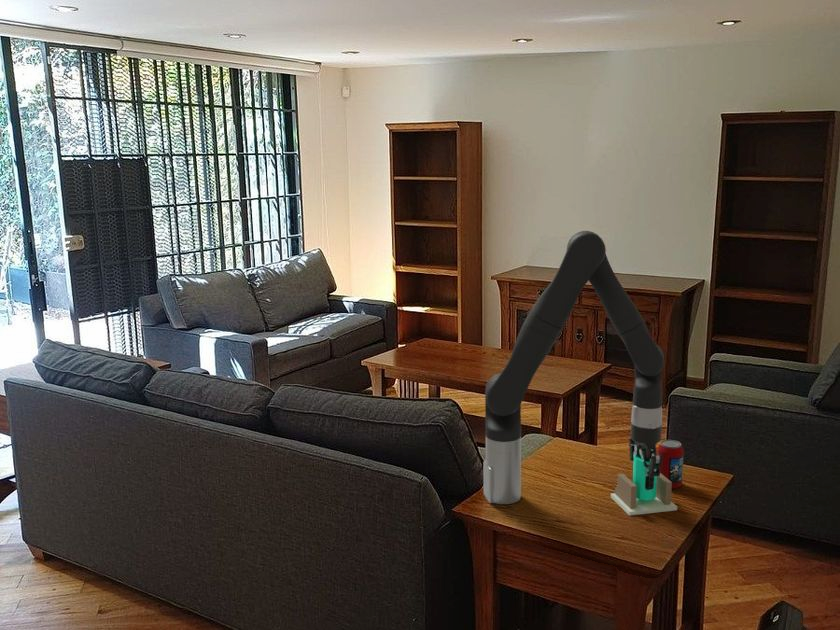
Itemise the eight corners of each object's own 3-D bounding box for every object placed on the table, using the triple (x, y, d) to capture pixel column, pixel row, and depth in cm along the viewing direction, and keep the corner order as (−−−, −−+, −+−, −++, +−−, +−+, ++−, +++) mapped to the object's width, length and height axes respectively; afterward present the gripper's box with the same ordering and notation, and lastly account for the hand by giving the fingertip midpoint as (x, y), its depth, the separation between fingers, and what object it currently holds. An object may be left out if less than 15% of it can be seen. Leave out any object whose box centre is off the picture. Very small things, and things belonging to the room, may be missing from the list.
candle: (653, 490, 208) (655, 447, 206) (658, 500, 202) (660, 456, 200) (630, 490, 209) (631, 446, 206) (634, 500, 203) (635, 455, 200)
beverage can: (678, 492, 213) (680, 449, 210) (652, 486, 216) (654, 445, 214) (684, 482, 218) (686, 441, 216) (659, 477, 222) (661, 437, 219)
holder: (629, 515, 200) (630, 489, 198) (610, 497, 210) (611, 472, 209) (677, 510, 202) (678, 484, 201) (656, 492, 213) (657, 467, 211)
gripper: (620, 413, 208) (617, 474, 211) (645, 432, 194) (643, 497, 198) (646, 411, 209) (644, 472, 213) (674, 430, 195) (670, 494, 199)
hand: (643, 484), depth 205 cm, fingers closed on candle, 5 cm apart
